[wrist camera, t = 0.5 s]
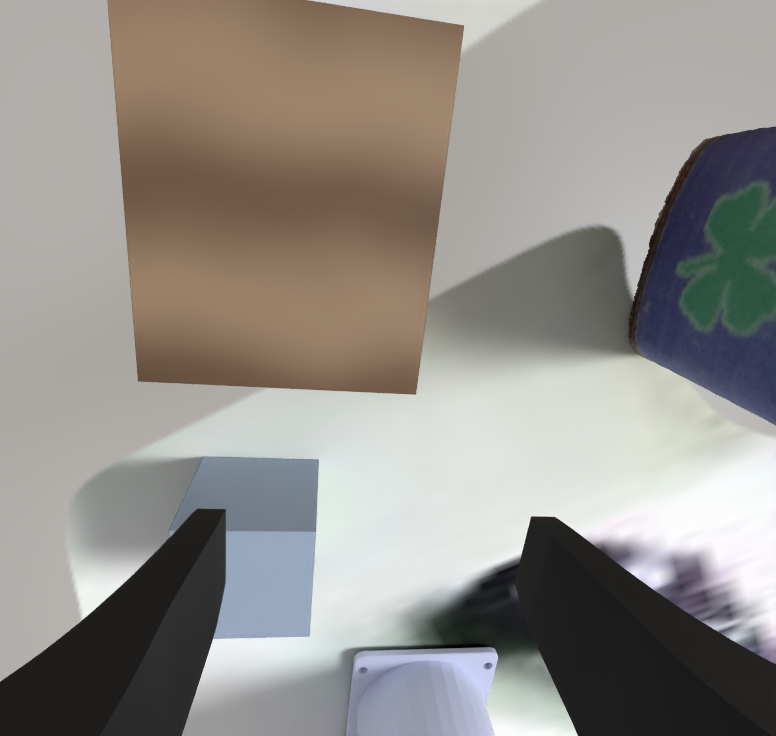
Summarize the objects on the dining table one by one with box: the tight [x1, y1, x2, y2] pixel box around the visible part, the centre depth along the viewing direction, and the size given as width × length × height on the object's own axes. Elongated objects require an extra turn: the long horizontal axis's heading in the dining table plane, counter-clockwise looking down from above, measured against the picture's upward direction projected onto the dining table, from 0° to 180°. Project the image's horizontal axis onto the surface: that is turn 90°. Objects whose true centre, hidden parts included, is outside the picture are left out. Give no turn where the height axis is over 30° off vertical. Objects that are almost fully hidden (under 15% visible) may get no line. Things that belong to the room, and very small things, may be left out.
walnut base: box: [108, 0, 464, 394], centre depth 17 cm, size 12×10×2 cm
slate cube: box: [169, 457, 319, 639], centre depth 20 cm, size 5×5×5 cm
